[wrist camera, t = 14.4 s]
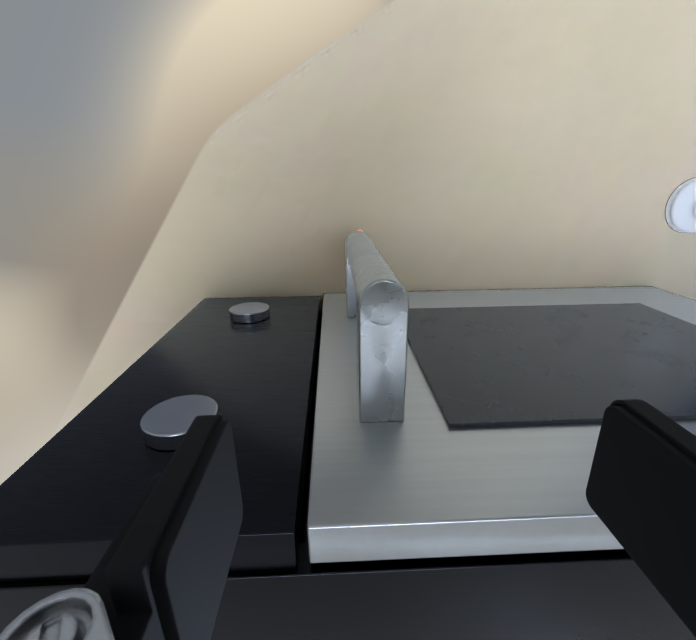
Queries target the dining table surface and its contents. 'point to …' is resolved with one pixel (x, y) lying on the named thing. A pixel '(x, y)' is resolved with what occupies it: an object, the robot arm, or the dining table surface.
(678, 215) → the chess piece
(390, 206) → the dining table surface
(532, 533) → the microwave door
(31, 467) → the microwave
